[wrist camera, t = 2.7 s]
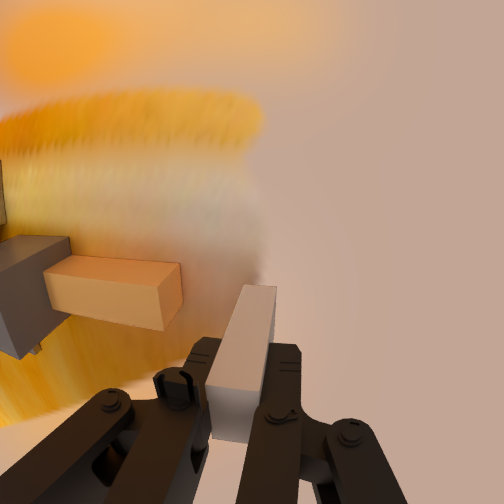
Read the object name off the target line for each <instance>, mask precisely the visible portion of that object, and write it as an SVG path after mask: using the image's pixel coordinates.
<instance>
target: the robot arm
mask: <svg viewBox="0 0 504 504" xmlns="http://www.w3.org/2000/svg"><path fill="white" fill-rule="evenodd" d="M276 288H277V287H275V286H260V285H245V284H244V285H243V288H242V290H241V293H240V295H239V298H238V301H237V303H236V306H235V308H234V311H233V313H232V316H231V319H230V321H229V324H228V326H227V329H226V331H225V334H224V337H223V339H218V338H210V337H203V338H201V339H200V340H199V341H197V342H196V343H195V344H194V346H193V348H192V350H191V352H190V354H189V355H188V357H187V359H186V361H185V363H184V365H183V367H171V368H166V369H163V370H161V371H160V372H158V373H157V374H156V375H155V376H154V377H153V381H154V385H155V389H156V392H157V396H158V398H156V399H150V400H131V399H130V396H129V394H127V393H126V392H125V391H123V390H120V389H117V388H109V389H105V390H102V391H100V392H99V393H97V394H96V395H95V396H93V397H92V398H91V399H90V400H89V401H88V402H86V403H85V404H84V405H83V406H82V407H81V408H79V409H78V410H77V411H76V412H75V413H74V414H73V415H71V416H70V417H69V418H68V419H67V420H66V421H64V422H63V423H62V424H61V425H60V426H59V427H57V428H56V429H55V430H54V431H53V432H51V433H50V434H49V435H48V436H47V437H46V438H44V439H43V440H42V441H41V442H40V443H39V444H37V445H36V446H35V447H34V448H33V449H32V450H30V451H29V452H28V453H27V454H26V455H25V456H23V457H22V458H21V459H20V460H19V461H17V462H16V463H15V464H14V465H13V466H12V467H10V468H9V469H8V470H7V471H6V472H4V473H3V474H2V475H1V476H0V504H192V503H193V500H194V497H195V494H196V491H197V487H198V484H199V481H200V478H201V474H202V471H203V468H204V465H205V462H206V458H207V455H208V452H209V451H208V450H209V445H208V439H209V436H210V433H212V438H213V439H218V440H225V441H232V442H240V443H248V447H247V452H246V457H245V462H244V466H243V471H242V476H241V480H240V485H239V490H238V494H237V499H236V503H235V504H297V499H298V488H299V479H302V480H305V481H309V482H311V483H312V486H313V490H314V493H315V497H316V500H317V504H408V503H407V501H406V499H405V497H404V495H403V493H402V490H401V488H400V486H399V484H398V482H397V480H396V478H395V476H394V474H393V471H392V469H391V467H390V465H389V463H388V461H387V459H386V457H385V455H384V453H383V451H382V449H381V447H380V444H379V443H378V440H377V439H376V436H375V434H374V432H373V431H372V429H371V428H370V427H369V425H368V424H366V423H364V422H363V421H361V420H357V419H353V418H349V419H342V420H339V421H336V422H334V423H333V424H332V425H330V424H326V423H322V422H319V421H317V420H314V419H312V418H311V417H309V416H308V415H307V414H306V413H305V412H304V411H303V409H302V407H301V354H302V353H301V351H300V350H299V348H298V347H297V345H296V344H282V343H273V339H274V325H275V306H276Z"/></svg>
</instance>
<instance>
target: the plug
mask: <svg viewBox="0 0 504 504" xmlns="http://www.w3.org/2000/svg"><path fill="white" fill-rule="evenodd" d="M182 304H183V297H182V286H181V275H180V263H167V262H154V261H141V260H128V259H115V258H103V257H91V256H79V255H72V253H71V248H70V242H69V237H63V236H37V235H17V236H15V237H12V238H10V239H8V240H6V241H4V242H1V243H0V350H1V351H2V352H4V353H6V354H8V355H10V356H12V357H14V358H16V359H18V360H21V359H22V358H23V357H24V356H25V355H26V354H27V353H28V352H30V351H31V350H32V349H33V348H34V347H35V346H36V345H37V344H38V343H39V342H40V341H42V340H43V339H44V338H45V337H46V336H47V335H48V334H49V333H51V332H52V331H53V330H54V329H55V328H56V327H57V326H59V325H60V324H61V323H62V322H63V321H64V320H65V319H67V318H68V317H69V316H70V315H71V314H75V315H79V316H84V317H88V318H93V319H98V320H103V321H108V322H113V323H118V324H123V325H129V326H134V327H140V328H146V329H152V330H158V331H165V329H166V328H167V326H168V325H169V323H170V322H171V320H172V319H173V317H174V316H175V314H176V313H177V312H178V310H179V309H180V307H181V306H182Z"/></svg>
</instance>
